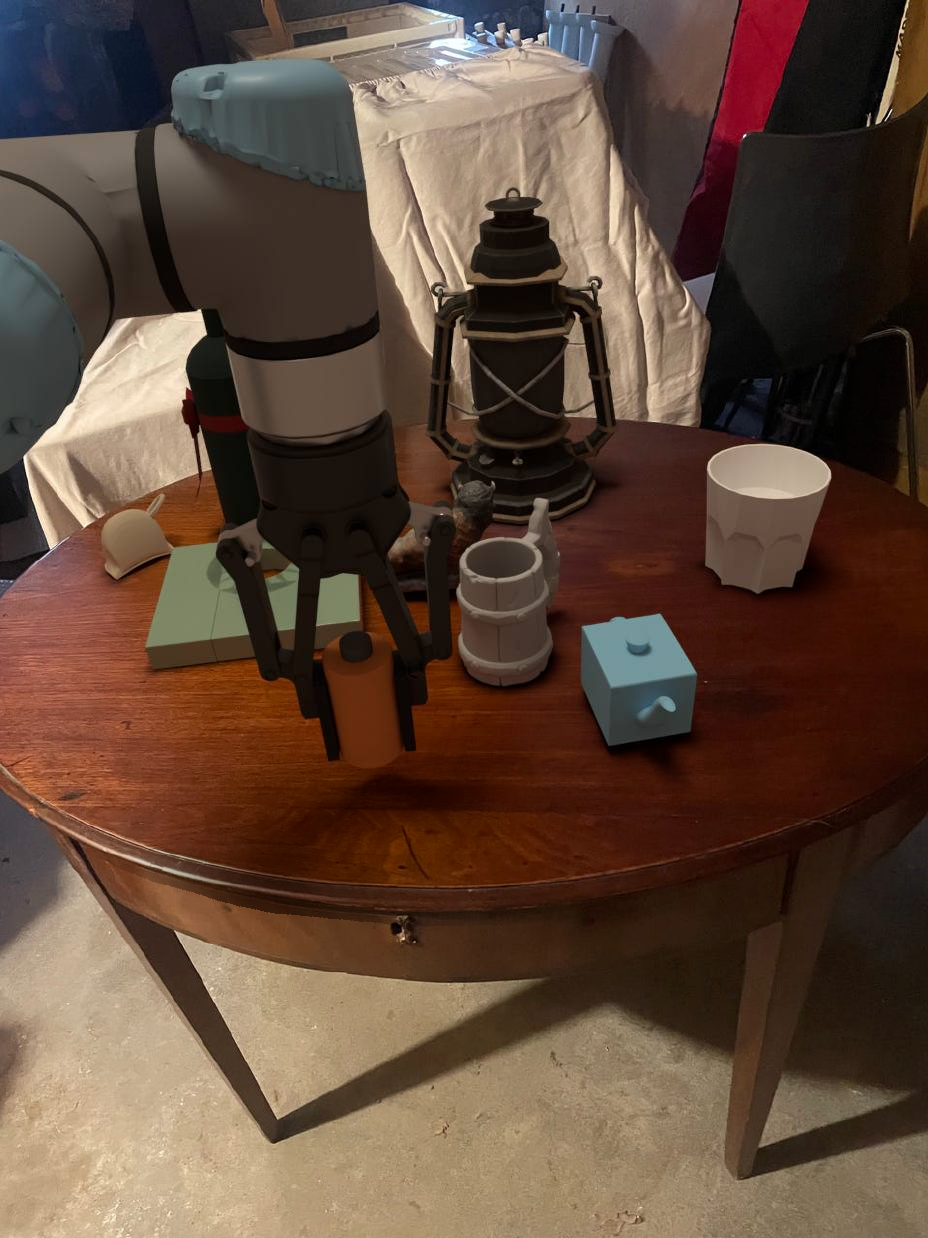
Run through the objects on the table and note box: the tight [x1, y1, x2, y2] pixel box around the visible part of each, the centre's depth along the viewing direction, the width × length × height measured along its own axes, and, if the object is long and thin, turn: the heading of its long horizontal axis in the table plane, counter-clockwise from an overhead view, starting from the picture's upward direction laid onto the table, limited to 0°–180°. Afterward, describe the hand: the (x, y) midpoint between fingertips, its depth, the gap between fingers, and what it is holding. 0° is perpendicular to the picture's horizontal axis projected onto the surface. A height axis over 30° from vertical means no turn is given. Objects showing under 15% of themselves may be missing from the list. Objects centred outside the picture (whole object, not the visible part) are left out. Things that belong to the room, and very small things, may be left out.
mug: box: [455, 498, 561, 687], centre depth 70 cm, size 8×12×12 cm, turn 145°
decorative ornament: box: [100, 493, 174, 581], centre depth 88 cm, size 4×8×5 cm, turn 133°
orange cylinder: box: [321, 630, 405, 769], centre depth 56 cm, size 4×4×9 cm
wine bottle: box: [180, 308, 261, 527], centre depth 83 cm, size 8×10×30 cm
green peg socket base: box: [144, 540, 364, 671], centre depth 81 cm, size 18×16×2 cm
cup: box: [704, 443, 832, 595], centre depth 78 cm, size 10×10×10 cm
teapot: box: [580, 613, 698, 747], centre depth 63 cm, size 12×6×8 cm, turn 10°
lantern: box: [425, 186, 619, 526], centre depth 87 cm, size 20×16×30 cm
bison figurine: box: [388, 481, 496, 594], centre depth 79 cm, size 12×7×10 cm, turn 91°
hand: (371, 741), depth 59 cm, fingers closed on orange cylinder, 4 cm apart
